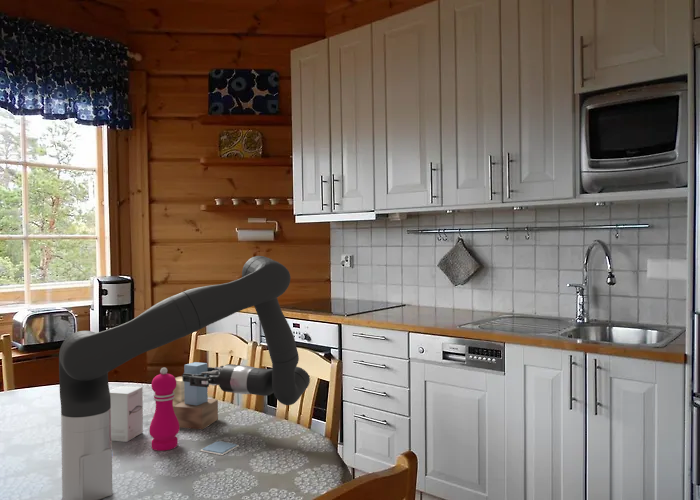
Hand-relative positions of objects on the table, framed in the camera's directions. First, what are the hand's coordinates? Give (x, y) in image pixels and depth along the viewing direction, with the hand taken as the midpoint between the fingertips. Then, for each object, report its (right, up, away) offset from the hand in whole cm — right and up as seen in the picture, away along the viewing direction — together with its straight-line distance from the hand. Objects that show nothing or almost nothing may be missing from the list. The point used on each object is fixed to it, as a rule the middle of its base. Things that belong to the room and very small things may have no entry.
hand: (193, 373), depth 161 cm
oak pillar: (-6, -14, +7) cm, 16 cm away
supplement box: (-16, -15, -11) cm, 24 cm away
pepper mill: (-2, -15, -18) cm, 24 cm away
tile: (+12, -14, -20) cm, 28 cm away
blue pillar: (+1, -8, 0) cm, 8 cm away
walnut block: (+1, -14, 0) cm, 14 cm away
